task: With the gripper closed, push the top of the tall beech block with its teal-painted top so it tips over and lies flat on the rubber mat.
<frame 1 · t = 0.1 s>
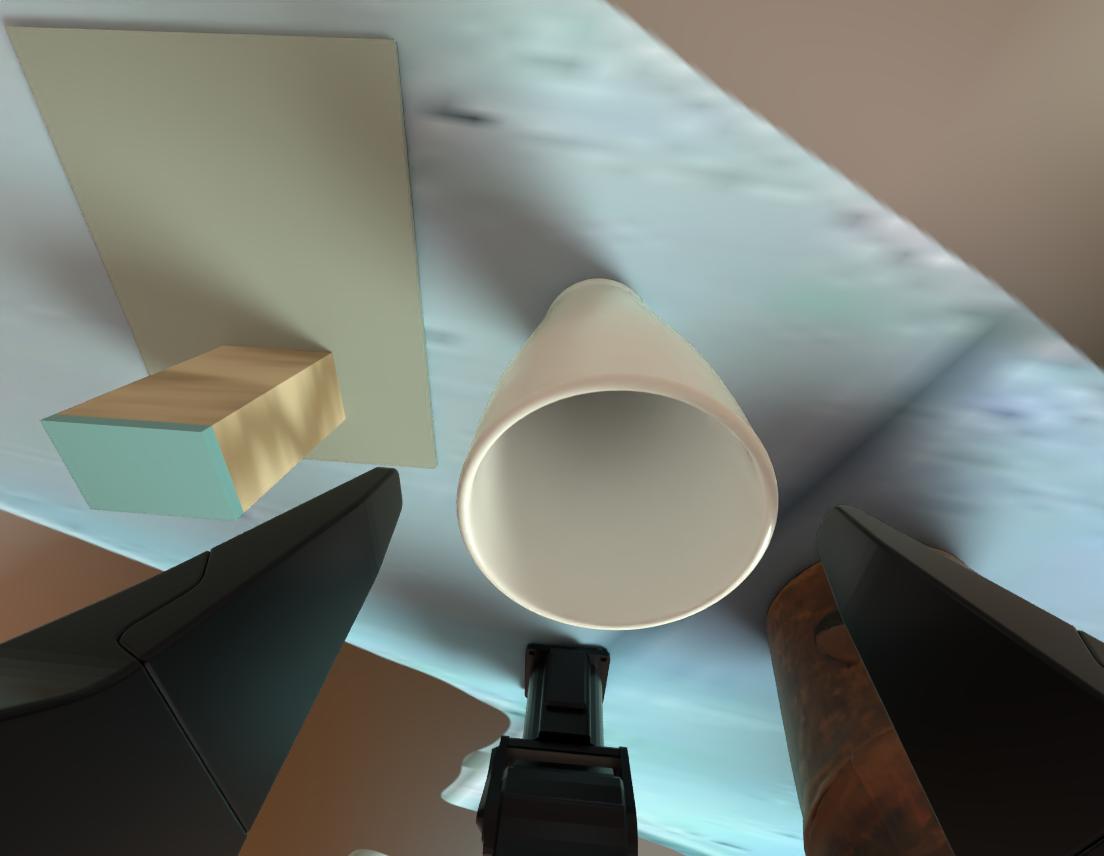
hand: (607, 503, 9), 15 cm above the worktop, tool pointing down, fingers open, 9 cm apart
brown round container: (864, 604, 30), on the worktop
beech block: (286, 383, 24), resting on rubber mat
rubber mat: (267, 289, 22), on the worktop
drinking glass: (596, 329, 22), on the worktop
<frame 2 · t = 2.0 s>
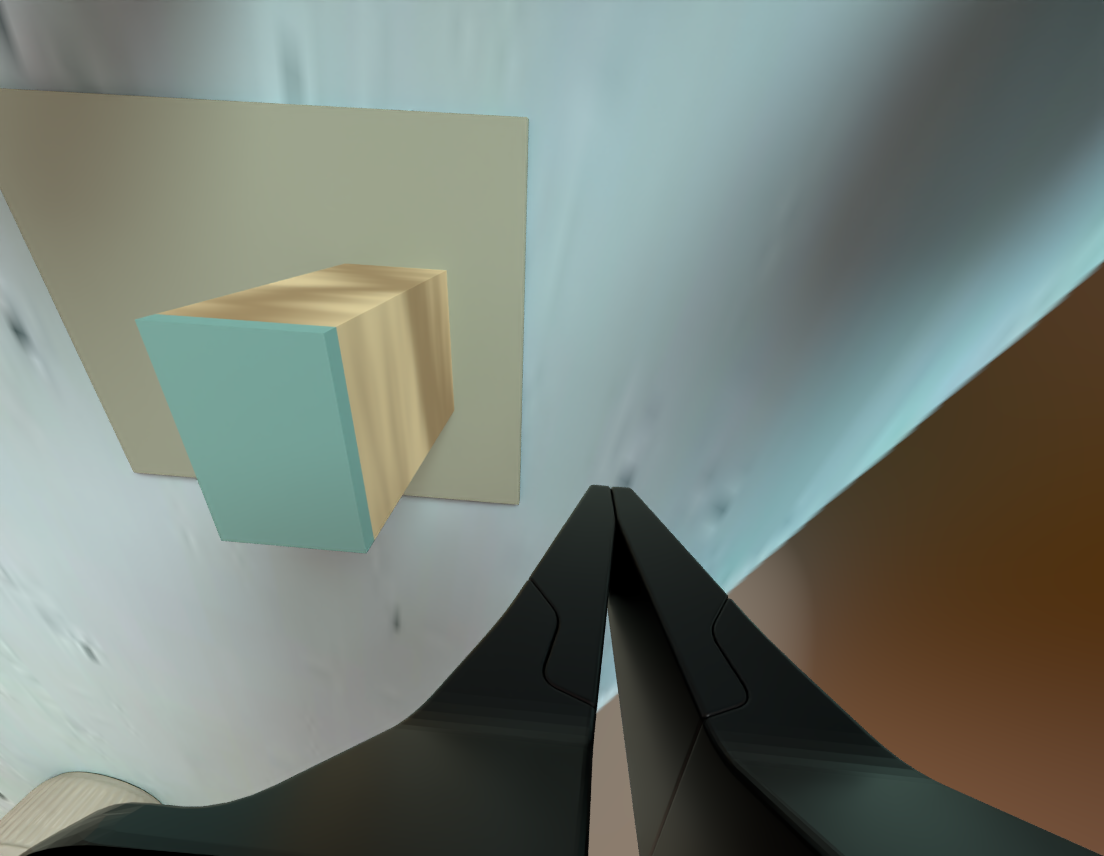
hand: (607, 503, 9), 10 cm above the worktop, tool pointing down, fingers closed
ramekin: (113, 796, 42), on the worktop
beech block: (403, 342, 18), resting on rubber mat
rubber mat: (293, 331, 19), on the worktop
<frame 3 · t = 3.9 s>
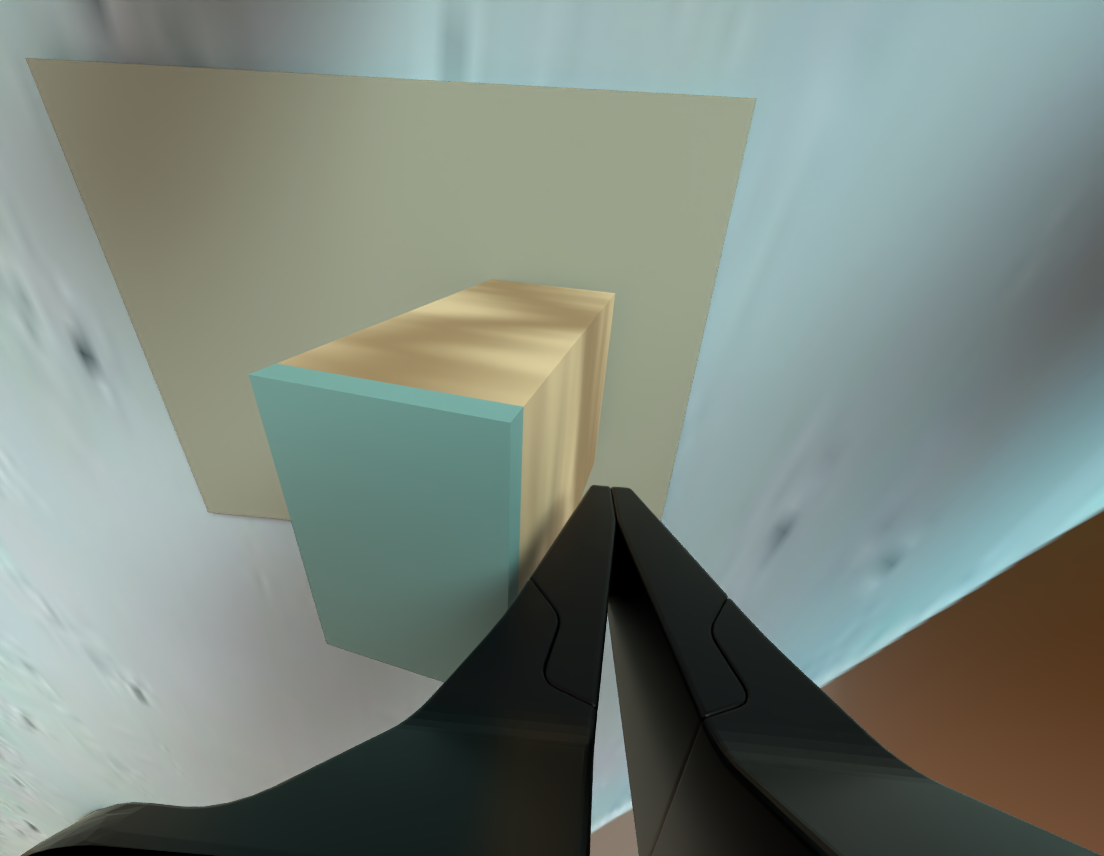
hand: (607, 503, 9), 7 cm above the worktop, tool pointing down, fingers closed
beech block: (546, 376, 15), point 1 cm above the worktop, tilted 11°, touching rubber mat
rubber mat: (412, 357, 16), on the worktop
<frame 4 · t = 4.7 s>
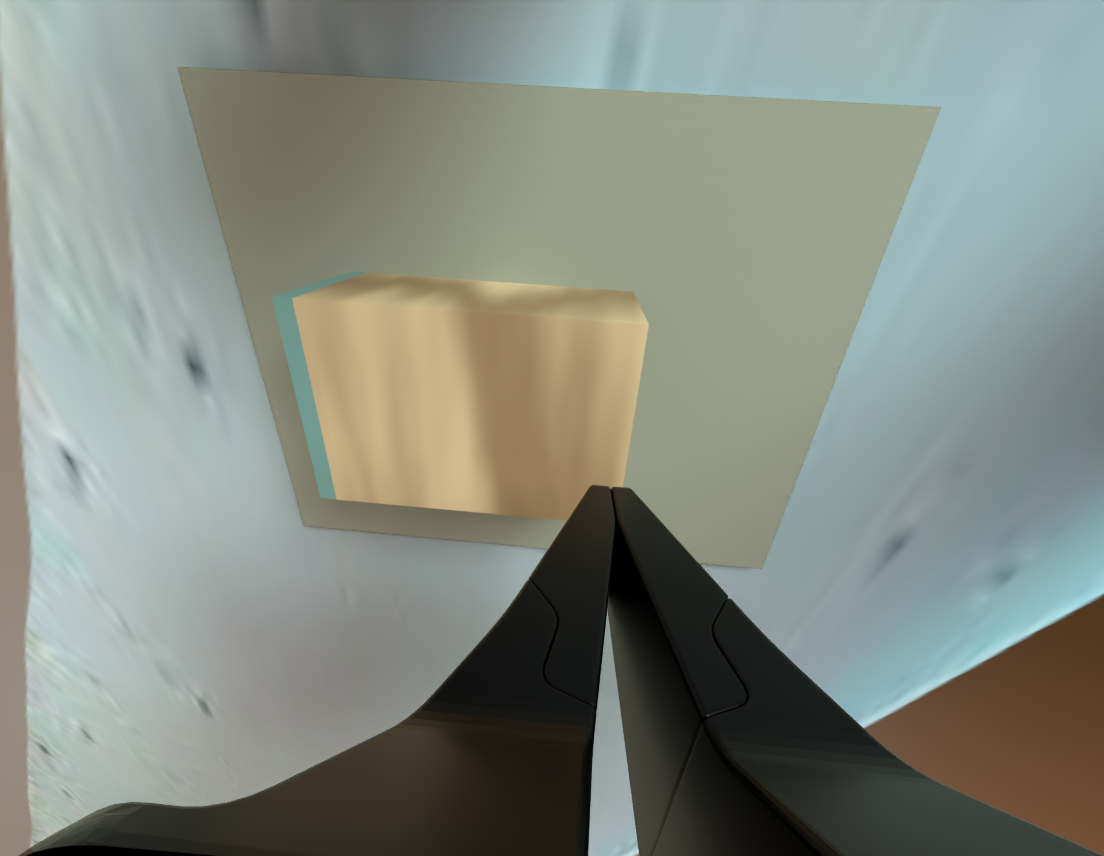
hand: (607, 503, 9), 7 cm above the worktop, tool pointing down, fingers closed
beech block: (625, 405, 13), point 2 cm above the worktop, tilted 90°, touching rubber mat
rubber mat: (536, 369, 16), on the worktop
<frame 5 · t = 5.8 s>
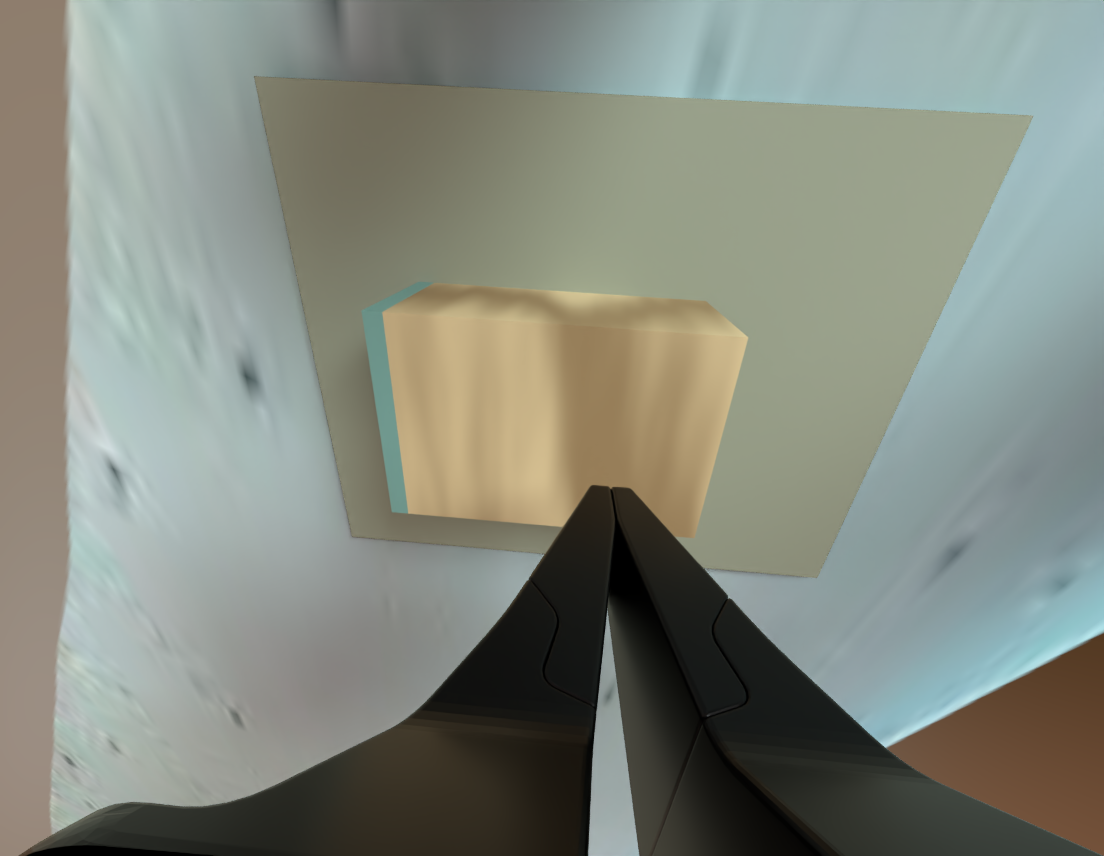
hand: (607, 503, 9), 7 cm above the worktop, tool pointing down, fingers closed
beech block: (700, 416, 13), point 2 cm above the worktop, tilted 90°, touching rubber mat
rubber mat: (599, 379, 15), on the worktop
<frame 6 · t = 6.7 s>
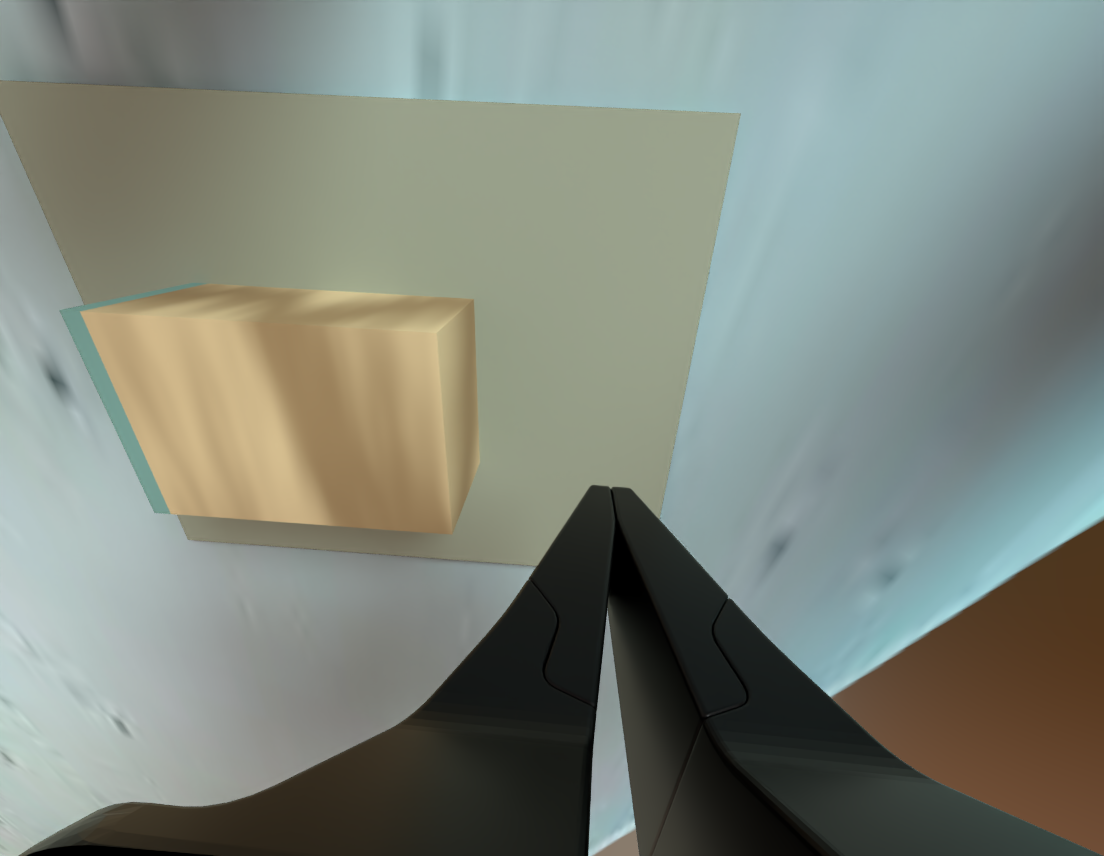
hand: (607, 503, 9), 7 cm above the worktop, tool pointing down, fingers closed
beech block: (463, 413, 13), point 2 cm above the worktop, tilted 90°, touching rubber mat
rubber mat: (395, 378, 15), on the worktop
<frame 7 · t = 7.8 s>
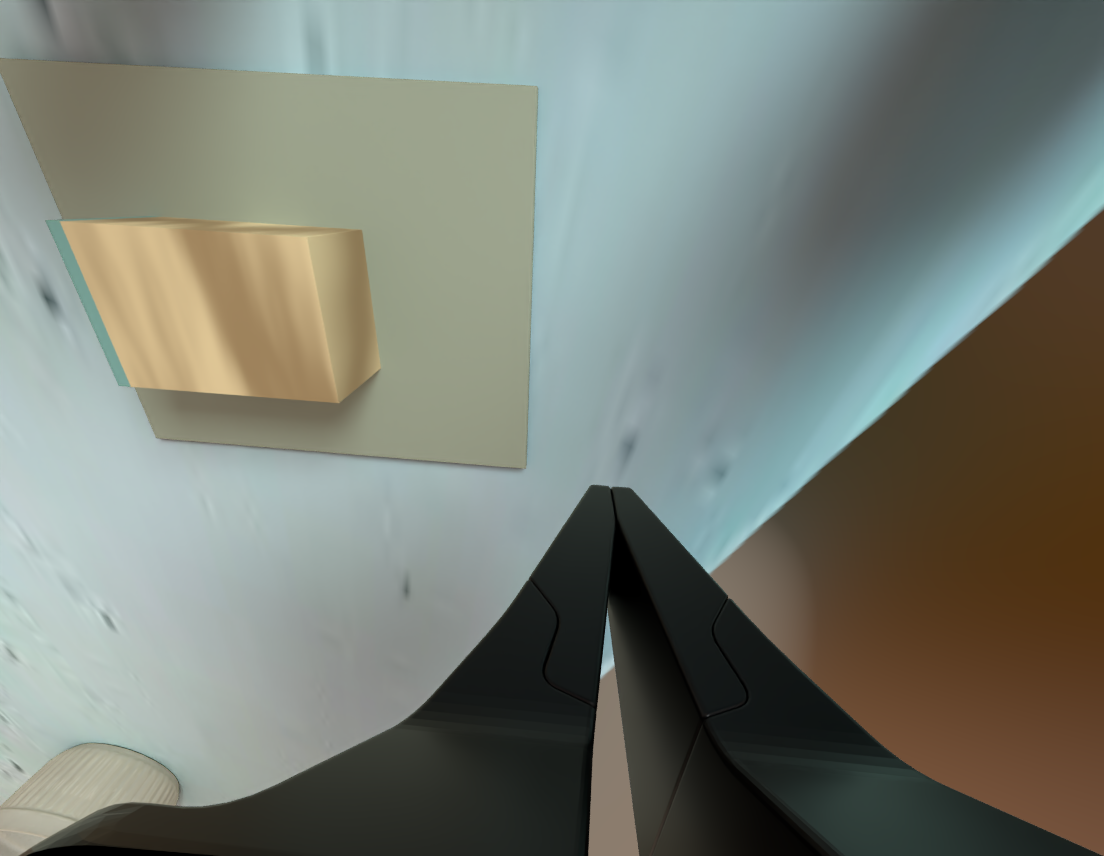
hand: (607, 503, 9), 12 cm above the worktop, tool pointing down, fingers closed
ramekin: (128, 768, 44), on the worktop
beech block: (350, 314, 18), point 2 cm above the worktop, tilted 90°, touching rubber mat
rubber mat: (311, 297, 20), on the worktop
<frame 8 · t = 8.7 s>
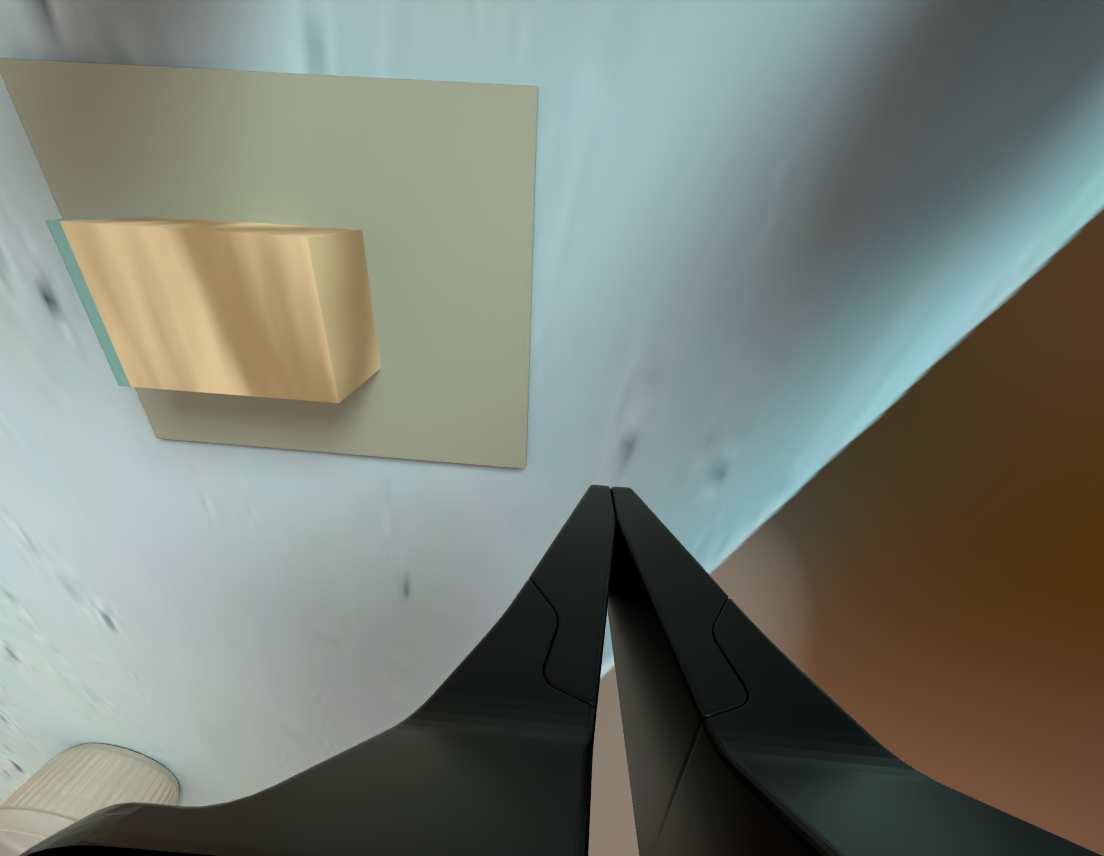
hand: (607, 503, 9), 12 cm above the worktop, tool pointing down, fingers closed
ramekin: (127, 768, 44), on the worktop
beech block: (350, 314, 18), point 2 cm above the worktop, tilted 90°, touching rubber mat
rubber mat: (311, 297, 20), on the worktop
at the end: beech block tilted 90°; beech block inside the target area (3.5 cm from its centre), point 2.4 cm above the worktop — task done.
